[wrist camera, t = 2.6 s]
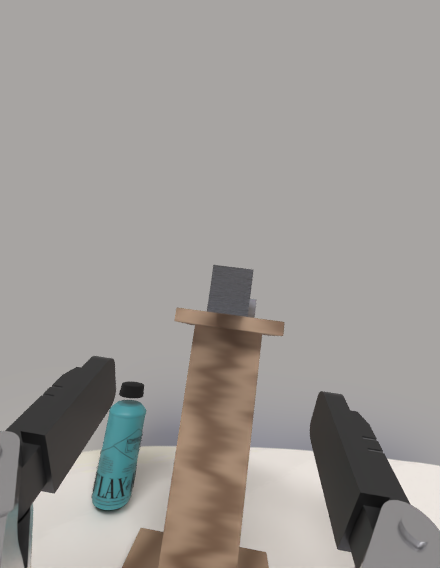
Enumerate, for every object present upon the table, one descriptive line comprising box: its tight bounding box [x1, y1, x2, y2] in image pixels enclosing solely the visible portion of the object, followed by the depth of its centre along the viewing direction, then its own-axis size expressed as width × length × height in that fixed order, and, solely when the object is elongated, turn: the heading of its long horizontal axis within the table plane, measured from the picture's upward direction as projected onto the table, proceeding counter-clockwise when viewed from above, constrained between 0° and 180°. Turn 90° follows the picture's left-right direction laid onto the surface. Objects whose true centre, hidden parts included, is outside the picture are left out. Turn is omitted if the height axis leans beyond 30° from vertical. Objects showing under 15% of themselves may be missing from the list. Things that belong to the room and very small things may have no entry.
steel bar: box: [207, 265, 253, 317], centre depth 29 cm, size 3×18×4 cm, turn 178°
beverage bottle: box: [91, 382, 146, 510], centre depth 46 cm, size 6×7×20 cm
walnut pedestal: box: [122, 299, 284, 568], centre depth 33 cm, size 18×16×36 cm
